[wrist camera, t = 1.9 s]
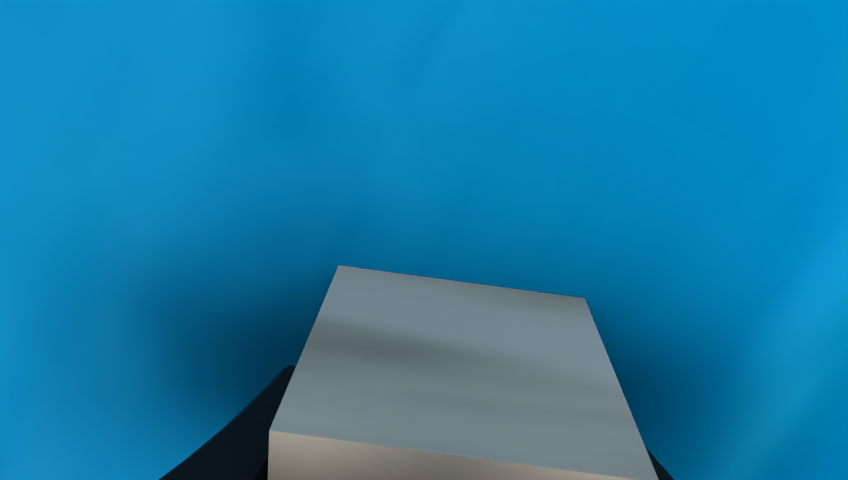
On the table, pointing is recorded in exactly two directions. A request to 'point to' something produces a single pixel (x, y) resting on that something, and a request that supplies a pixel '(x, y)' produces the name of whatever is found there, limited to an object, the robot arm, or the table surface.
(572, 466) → the ash cube
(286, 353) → the table surface
